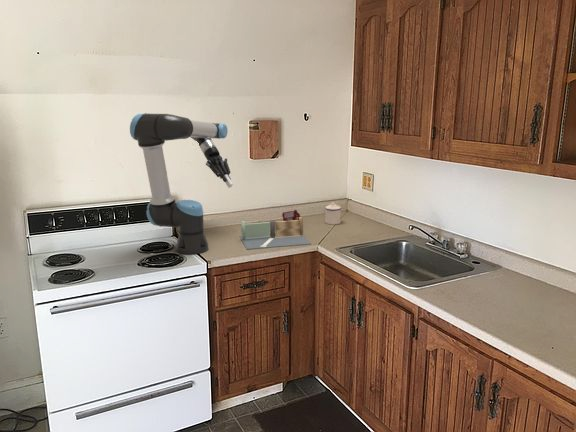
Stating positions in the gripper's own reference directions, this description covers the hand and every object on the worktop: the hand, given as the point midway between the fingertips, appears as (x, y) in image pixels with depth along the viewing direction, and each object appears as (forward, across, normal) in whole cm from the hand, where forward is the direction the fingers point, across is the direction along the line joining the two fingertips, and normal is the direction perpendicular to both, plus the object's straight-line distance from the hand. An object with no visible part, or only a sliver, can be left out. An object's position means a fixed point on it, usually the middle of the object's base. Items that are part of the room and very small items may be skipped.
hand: (230, 185), depth 259 cm
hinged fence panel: (+29, -2, -6) cm, 30 cm away
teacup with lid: (+33, -55, -4) cm, 64 cm away
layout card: (+35, -8, -1) cm, 36 cm away
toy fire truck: (+29, -29, -8) cm, 42 cm away
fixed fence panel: (+35, -16, -1) cm, 39 cm away
